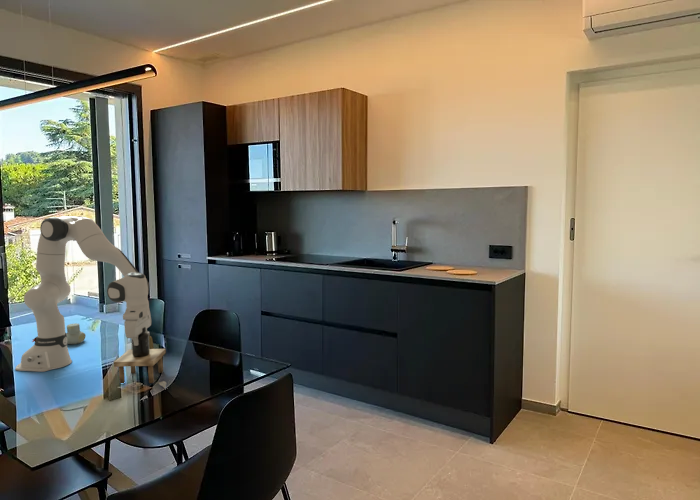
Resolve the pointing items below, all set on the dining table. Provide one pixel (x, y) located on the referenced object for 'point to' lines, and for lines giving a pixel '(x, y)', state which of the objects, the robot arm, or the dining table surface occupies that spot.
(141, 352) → the supplement bottle
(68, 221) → the robot arm
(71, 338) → the air freshener
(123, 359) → the stool
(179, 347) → the dining table surface
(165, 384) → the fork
